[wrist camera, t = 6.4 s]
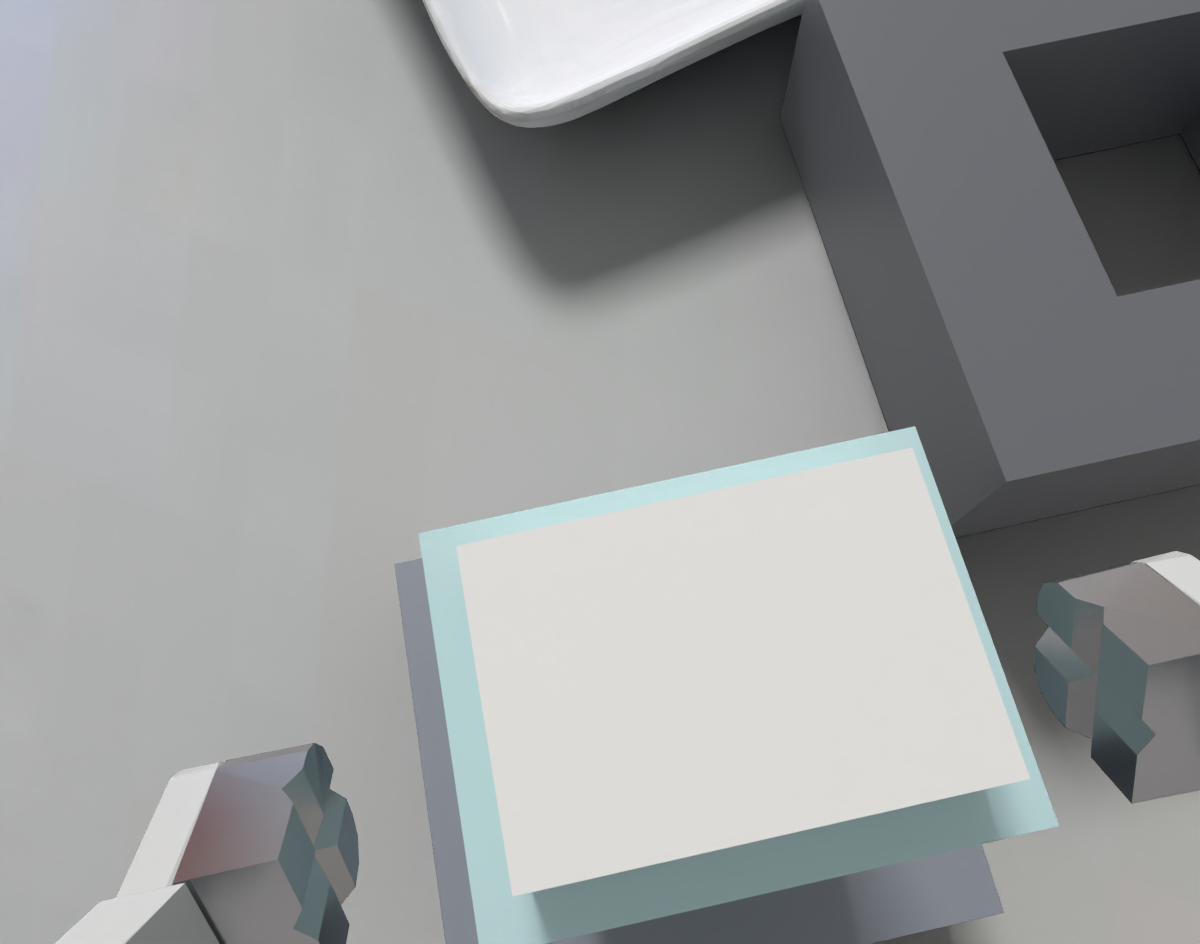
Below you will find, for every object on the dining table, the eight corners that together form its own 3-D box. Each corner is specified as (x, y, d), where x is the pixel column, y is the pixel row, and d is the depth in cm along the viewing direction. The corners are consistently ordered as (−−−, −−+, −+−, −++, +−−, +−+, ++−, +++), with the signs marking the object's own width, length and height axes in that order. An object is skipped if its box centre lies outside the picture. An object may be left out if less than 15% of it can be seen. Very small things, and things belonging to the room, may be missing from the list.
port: (928, 543, 18) (1022, 469, 13) (780, 118, 21) (815, -50, 17) (1488, 420, 18) (1758, 309, 14) (1248, 21, 22) (1401, -167, 17)
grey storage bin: (491, 990, 15) (458, 1039, 13) (433, 597, 18) (394, 564, 15) (938, 887, 16) (1003, 912, 13) (822, 512, 18) (855, 464, 15)
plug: (580, 842, 15) (456, 988, 5) (548, 672, 16) (390, 503, 6) (801, 792, 15) (1121, 834, 5) (756, 625, 16) (949, 384, 6)
